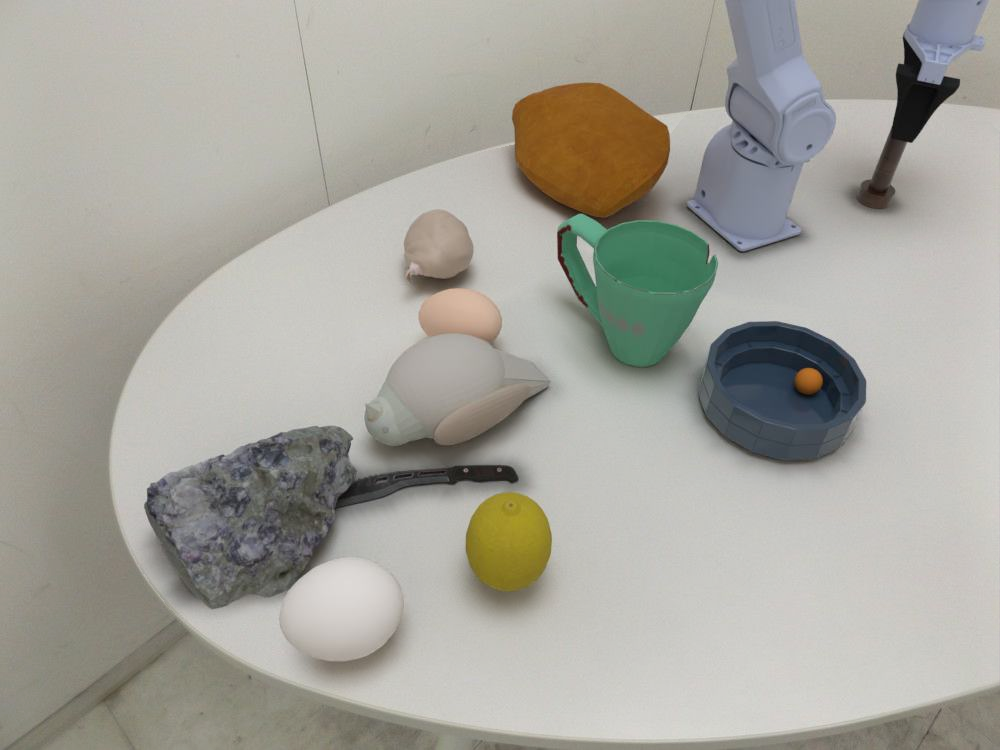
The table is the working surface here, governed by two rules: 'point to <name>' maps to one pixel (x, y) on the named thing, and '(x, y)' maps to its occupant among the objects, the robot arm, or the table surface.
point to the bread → (589, 147)
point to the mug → (638, 282)
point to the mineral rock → (251, 512)
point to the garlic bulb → (437, 246)
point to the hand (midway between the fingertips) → (904, 122)
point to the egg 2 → (460, 314)
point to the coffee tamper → (882, 176)
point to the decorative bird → (450, 391)
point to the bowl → (781, 390)
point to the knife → (420, 480)
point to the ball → (808, 381)
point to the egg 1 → (342, 609)
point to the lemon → (508, 541)
